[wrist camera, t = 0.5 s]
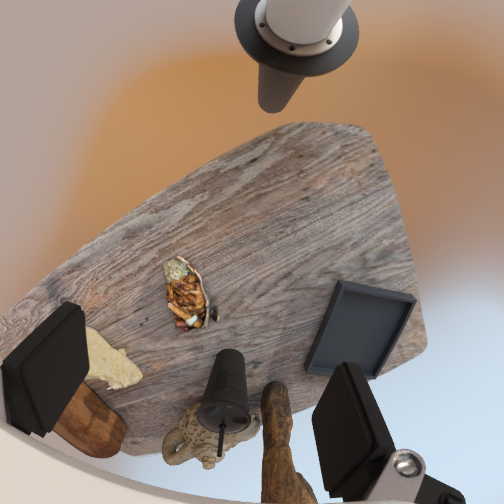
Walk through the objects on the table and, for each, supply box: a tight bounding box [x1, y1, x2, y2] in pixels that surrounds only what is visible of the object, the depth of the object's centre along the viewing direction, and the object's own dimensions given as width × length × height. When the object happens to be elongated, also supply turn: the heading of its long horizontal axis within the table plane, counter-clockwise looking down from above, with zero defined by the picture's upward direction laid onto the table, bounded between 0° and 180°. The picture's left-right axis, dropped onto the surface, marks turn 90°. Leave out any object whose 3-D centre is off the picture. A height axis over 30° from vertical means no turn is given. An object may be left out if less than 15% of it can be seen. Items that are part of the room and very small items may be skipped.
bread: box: [53, 382, 127, 458], centre depth 48 cm, size 14×28×12 cm, turn 32°
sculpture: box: [260, 381, 318, 504], centre depth 36 cm, size 7×7×30 cm
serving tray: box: [304, 280, 417, 379], centre depth 45 cm, size 17×14×2 cm
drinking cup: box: [196, 349, 251, 457], centre depth 39 cm, size 8×8×20 cm
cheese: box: [85, 324, 143, 389], centre depth 46 cm, size 15×7×15 cm
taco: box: [163, 256, 220, 333], centre depth 43 cm, size 7×12×4 cm, turn 22°
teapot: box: [162, 402, 261, 470], centre depth 46 cm, size 21×12×15 cm, turn 120°
